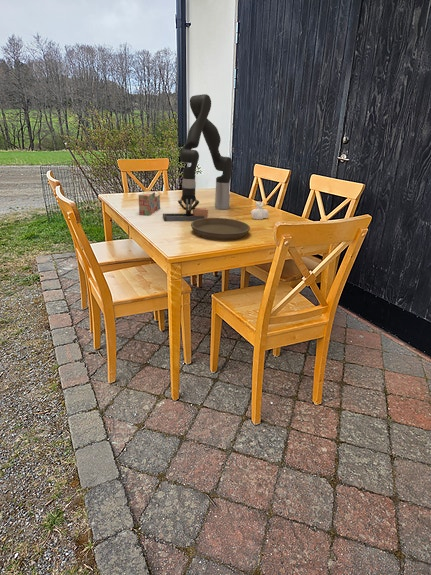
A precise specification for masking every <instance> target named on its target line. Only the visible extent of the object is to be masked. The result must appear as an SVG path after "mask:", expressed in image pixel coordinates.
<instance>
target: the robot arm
mask: <svg viewBox="0 0 431 575" xmlns="http://www.w3.org/2000/svg"><path fill="white" fill-rule="evenodd" d="M189 106H190V110H191V112H192V114H193V116H194V118H195V121H194V122H193V123H192V125H191V126H190V128H189V129H188V132H187V138H186V141H185V142H184V145H183V147H182V149H181V151H180V153H179V159H180V161H181V162H182V163H186V164H190V166H187V167H183V169H182V181H181V182H182V184H181V185H182V186H181V189H182V192H181V194H182V195H181V198H180V199H179V200H177V203H178V204H179V205H180V207H181V208H182V210H184V211H185V213H186V216H191V213H192V211H193V210H194V209H195V208H197V206H198V205H199V204H200V201H199V200H198V199H197V198H196V170H197V166H198V162H199V160H200V159H199V158H200V154H199V151H198V150H196V149H197V148H198V147H199V144H200V141H201V140H200V139H201V135H202V136H203V138H204V140H205V143H206V146H207V147H208V151H209V154H210V156H211V160H212V163H213V167H214V168H215V170H217V172H222V174H221V175H220V176H217V177H216V178H215V199H214V201H215V202H214V208H215V209H216V210H217V209H218V210H228V209H229V210H230V201H231V200H230V199H231V194H230V188H231V186H230V185H231V178H232V173H233V172H232V171H233V159H232V158H231V157H230V156H229V157H228V156H223V155H221V153H220V150H219V148H220V144H221V134H220V133H219V130H218V128H217V126H216V125H215V124H214V123H212V121H210V120H209V119H208V116H209V114H210V111H211V108H212V100H211V97H210V95H209V94H207V93H205V94H204V93H203V94H196V95H191V97H190V98H189ZM184 205H185V206H184Z"/></svg>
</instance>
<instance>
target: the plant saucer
mask: <svg viewBox="0 0 431 575" xmlns="http://www.w3.org/2000/svg"><path fill="white" fill-rule="evenodd" d="M250 226H251V225H249V224H247V223H246V222H244V221H241V220H238V219H232V218H225V217H224V218H223V217H207V218H203V219H198V220H195V221H191V223H190V227H191V229H192V230H193V231H194V232H195V234H196V235H198V236H199V237H202V238H204V239H210V240H217V241H218V240H219V241H231V240H232V239H233V240H238V238H239V239H241V237H242V238H243V237H245V235H246V234H248V233H249V232H250V230H251V227H250Z"/></svg>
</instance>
